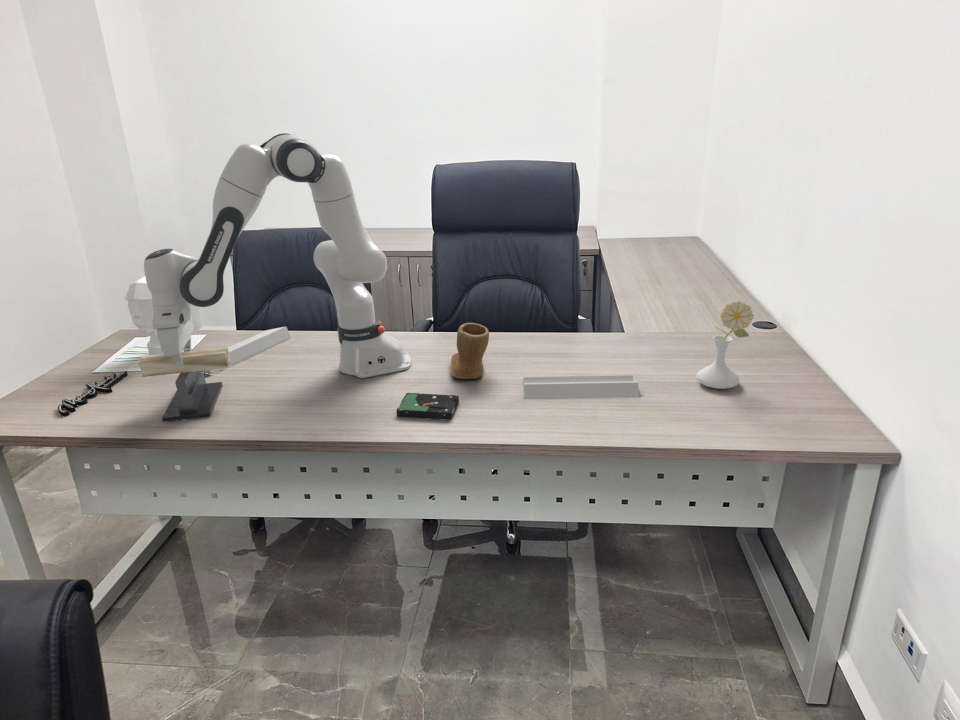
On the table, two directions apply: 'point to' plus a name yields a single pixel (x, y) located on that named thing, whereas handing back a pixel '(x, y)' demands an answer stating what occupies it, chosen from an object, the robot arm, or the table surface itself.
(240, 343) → the decorative molding
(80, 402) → the nameplate
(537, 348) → the table surface
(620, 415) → the table surface
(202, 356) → the beech rod
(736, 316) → the flower in vase
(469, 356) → the brown boot
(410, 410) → the disk drive
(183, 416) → the dark gray stand
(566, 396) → the crown molding
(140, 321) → the head bust
